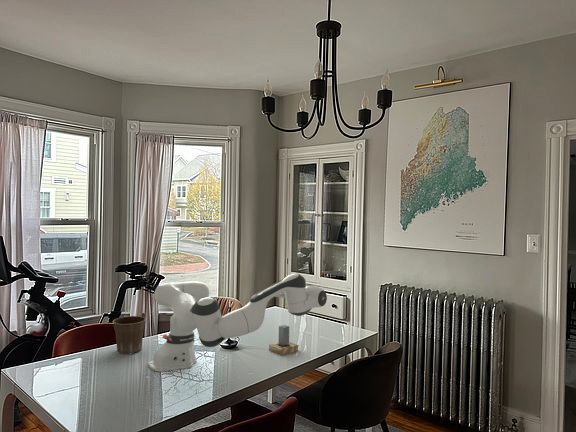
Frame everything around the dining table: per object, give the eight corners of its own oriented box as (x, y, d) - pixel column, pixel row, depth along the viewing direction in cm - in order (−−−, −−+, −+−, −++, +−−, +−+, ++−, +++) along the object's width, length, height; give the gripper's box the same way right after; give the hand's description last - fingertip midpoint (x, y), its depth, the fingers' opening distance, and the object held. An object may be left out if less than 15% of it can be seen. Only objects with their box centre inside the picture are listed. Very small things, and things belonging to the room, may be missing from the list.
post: (283, 352, 235) (283, 327, 235) (278, 350, 238) (278, 326, 238) (288, 350, 238) (289, 326, 237) (284, 348, 241) (284, 324, 240)
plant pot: (118, 357, 222) (118, 325, 222) (108, 349, 235) (108, 318, 235) (150, 351, 233) (150, 320, 232) (138, 343, 245) (138, 314, 245)
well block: (280, 355, 230) (280, 349, 230) (268, 350, 238) (269, 344, 238) (298, 350, 238) (298, 345, 238) (286, 346, 246) (286, 340, 246)
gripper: (282, 302, 204) (264, 297, 215) (315, 297, 217) (296, 292, 228) (282, 288, 204) (264, 284, 215) (315, 284, 217) (297, 280, 228)
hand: (281, 288), depth 222 cm, fingers open, 8 cm apart
